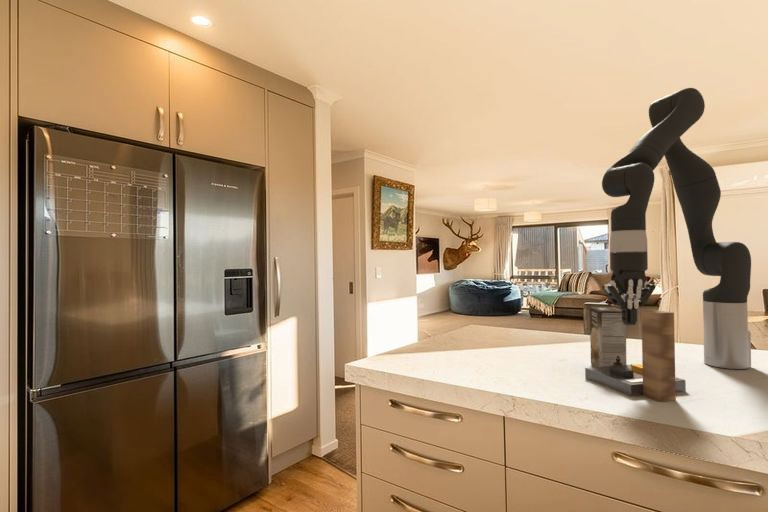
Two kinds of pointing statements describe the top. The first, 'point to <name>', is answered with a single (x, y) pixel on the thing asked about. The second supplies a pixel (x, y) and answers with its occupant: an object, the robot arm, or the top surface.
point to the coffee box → (607, 337)
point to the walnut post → (658, 355)
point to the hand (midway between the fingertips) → (629, 324)
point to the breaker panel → (624, 378)
